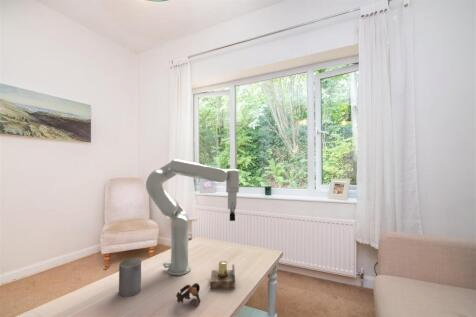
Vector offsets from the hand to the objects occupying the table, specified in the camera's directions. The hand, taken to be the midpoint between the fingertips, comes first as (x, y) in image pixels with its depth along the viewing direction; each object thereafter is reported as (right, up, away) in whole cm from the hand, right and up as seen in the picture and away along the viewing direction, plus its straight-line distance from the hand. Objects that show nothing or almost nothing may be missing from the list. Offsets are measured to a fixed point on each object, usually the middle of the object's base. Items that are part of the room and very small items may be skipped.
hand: (232, 220), depth 140 cm
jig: (-4, -27, -20) cm, 33 cm away
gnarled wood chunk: (-18, -27, -36) cm, 48 cm away
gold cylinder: (-4, -27, -20) cm, 33 cm away
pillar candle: (-48, -27, -28) cm, 62 cm away
